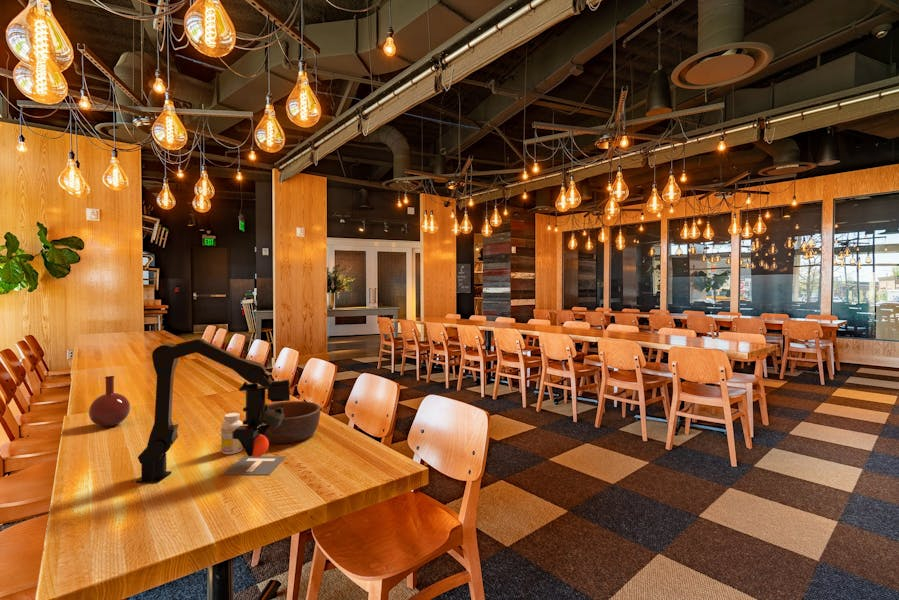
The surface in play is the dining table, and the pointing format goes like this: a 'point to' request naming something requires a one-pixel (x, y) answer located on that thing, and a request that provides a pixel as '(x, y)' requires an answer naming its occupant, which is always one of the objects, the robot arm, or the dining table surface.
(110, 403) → the round-bottom flask
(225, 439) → the supplement bottle
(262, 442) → the clementine
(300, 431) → the wooden bowl
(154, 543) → the dining table surface
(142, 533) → the dining table surface
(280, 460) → the letter tile
